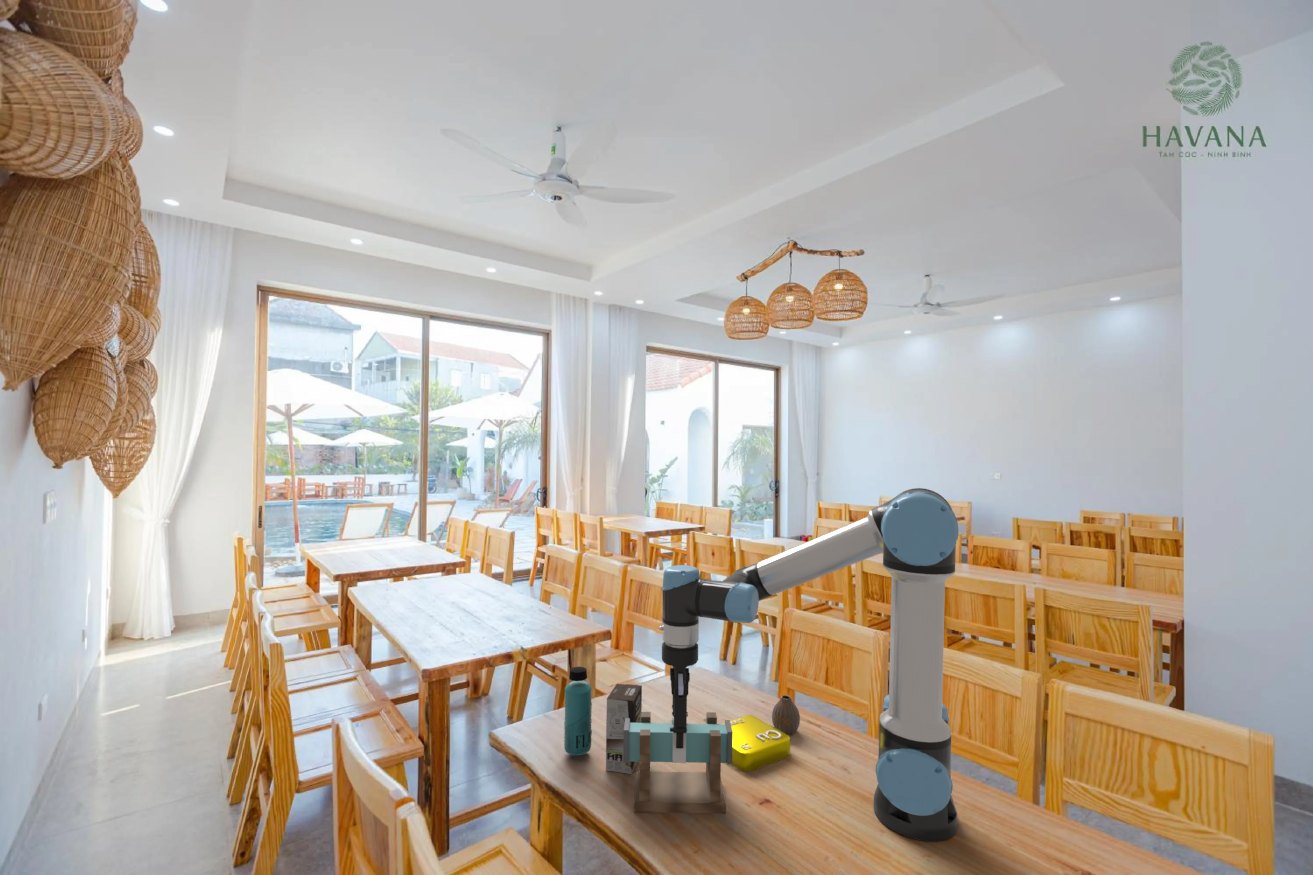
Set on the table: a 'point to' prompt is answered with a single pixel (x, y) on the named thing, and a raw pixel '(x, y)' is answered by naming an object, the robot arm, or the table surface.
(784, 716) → the vase
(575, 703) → the beverage bottle
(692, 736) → the teal bar
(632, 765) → the coffee box
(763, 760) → the element tile
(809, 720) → the table surface
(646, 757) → the rack
